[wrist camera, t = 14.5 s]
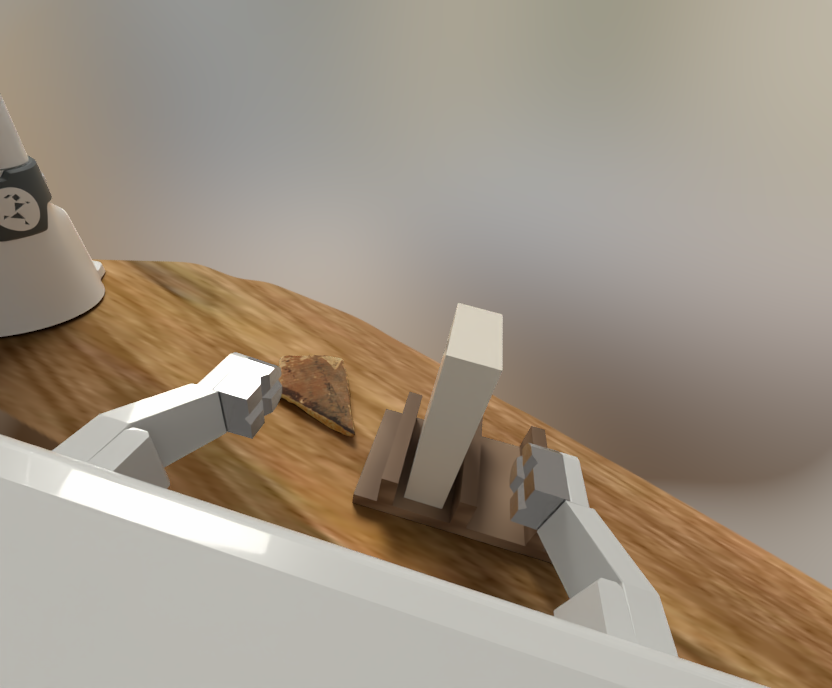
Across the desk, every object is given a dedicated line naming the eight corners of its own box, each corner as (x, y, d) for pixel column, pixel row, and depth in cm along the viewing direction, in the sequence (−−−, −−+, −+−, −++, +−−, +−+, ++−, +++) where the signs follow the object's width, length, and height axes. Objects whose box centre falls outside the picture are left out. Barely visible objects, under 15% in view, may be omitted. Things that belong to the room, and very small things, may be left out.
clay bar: (403, 497, 26) (446, 354, 18) (419, 436, 31) (458, 302, 23) (441, 509, 26) (502, 370, 18) (451, 446, 31) (502, 314, 22)
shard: (353, 444, 31) (355, 432, 30) (261, 453, 29) (259, 440, 28) (344, 366, 39) (345, 353, 38) (272, 367, 37) (270, 354, 36)
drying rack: (352, 502, 26) (356, 471, 24) (384, 417, 33) (390, 386, 31) (558, 565, 25) (585, 539, 23) (545, 463, 32) (565, 435, 30)
